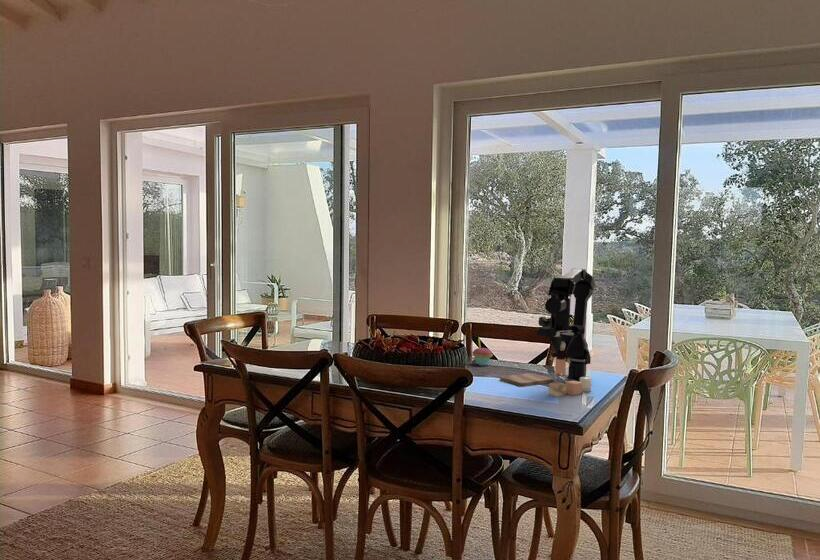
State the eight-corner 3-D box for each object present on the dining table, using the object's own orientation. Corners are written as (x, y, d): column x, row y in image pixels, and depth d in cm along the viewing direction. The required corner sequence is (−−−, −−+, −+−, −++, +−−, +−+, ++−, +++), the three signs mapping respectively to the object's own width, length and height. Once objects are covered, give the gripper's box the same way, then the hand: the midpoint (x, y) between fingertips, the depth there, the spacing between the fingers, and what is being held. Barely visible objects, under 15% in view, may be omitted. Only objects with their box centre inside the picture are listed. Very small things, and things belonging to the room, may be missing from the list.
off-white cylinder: (584, 388, 238) (585, 376, 238) (593, 390, 235) (593, 378, 234) (577, 389, 236) (577, 377, 236) (585, 392, 233) (585, 379, 232)
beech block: (557, 393, 231) (557, 381, 230) (565, 395, 227) (565, 384, 227) (548, 394, 228) (549, 383, 228) (557, 396, 225) (557, 385, 225)
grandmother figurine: (571, 376, 236) (573, 341, 236) (569, 378, 233) (571, 343, 232) (550, 373, 240) (551, 339, 239) (547, 375, 236) (549, 340, 235)
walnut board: (531, 375, 257) (531, 372, 257) (553, 382, 247) (553, 378, 247) (500, 380, 249) (500, 376, 249) (521, 386, 239) (521, 383, 239)
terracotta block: (573, 391, 233) (573, 380, 233) (581, 393, 230) (582, 382, 230) (565, 392, 231) (565, 381, 231) (573, 395, 228) (574, 383, 228)
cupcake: (471, 365, 275) (472, 337, 274) (473, 361, 283) (473, 334, 283) (492, 366, 274) (492, 338, 273) (492, 362, 282) (493, 335, 281)
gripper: (564, 307, 246) (562, 348, 247) (527, 310, 236) (525, 352, 237) (586, 311, 237) (584, 353, 238) (549, 313, 227) (547, 357, 228)
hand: (560, 354), depth 236 cm, fingers closed on grandmother figurine, 3 cm apart
